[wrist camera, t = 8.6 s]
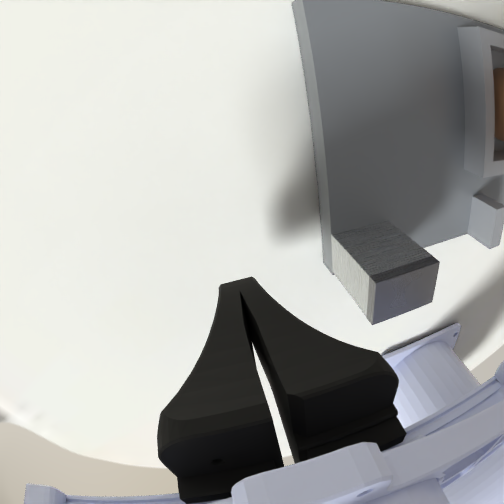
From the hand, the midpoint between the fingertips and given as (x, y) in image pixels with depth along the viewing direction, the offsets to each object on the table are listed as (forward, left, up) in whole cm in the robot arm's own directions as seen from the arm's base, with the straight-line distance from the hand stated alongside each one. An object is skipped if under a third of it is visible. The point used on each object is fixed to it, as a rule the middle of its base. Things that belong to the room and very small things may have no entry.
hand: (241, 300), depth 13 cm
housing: (+5, -17, -3) cm, 17 cm away
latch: (0, -6, -2) cm, 6 cm away
